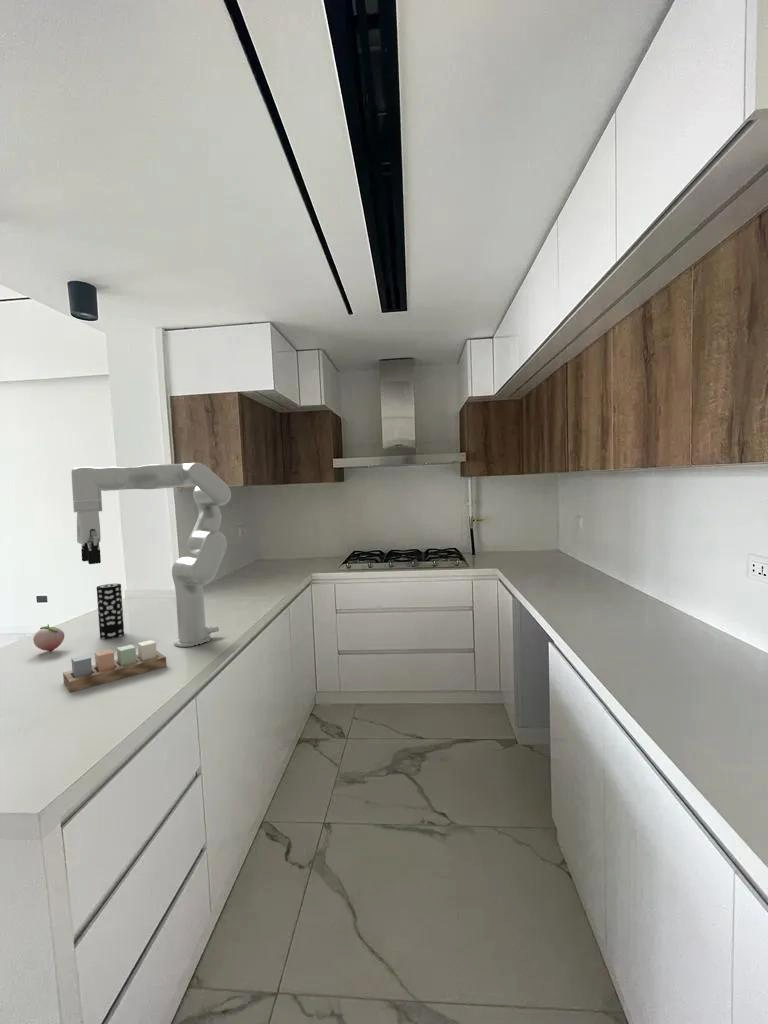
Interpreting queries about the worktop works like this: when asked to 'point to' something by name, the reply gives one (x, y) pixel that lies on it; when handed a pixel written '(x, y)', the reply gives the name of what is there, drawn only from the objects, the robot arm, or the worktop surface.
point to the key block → (113, 672)
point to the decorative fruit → (48, 638)
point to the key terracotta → (104, 660)
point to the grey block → (81, 666)
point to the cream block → (147, 650)
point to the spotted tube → (110, 611)
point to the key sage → (126, 655)
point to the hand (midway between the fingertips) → (91, 562)
